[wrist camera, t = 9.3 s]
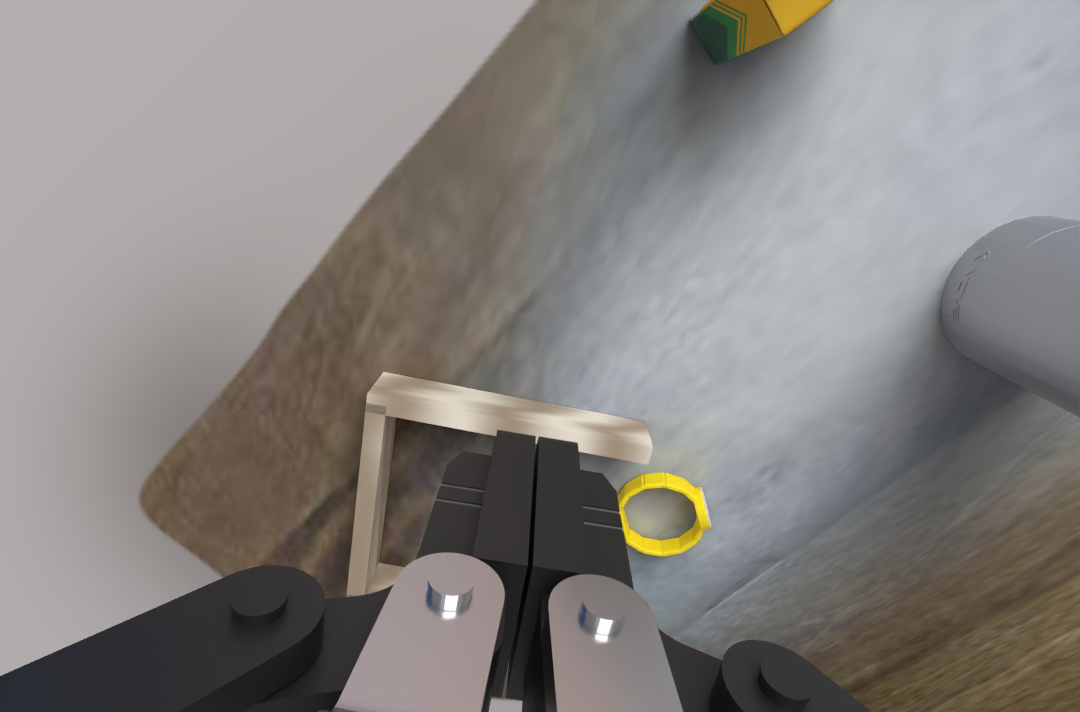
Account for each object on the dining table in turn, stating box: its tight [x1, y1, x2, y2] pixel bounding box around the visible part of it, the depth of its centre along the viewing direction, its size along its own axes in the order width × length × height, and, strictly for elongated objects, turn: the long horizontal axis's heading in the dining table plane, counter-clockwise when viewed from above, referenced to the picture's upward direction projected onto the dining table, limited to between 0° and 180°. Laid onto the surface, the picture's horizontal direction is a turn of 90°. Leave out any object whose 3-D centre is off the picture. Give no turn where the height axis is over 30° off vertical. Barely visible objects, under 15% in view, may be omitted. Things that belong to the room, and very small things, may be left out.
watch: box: [617, 472, 711, 557], centre depth 40 cm, size 6×3×6 cm
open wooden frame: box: [347, 372, 653, 597], centre depth 40 cm, size 17×16×4 cm
